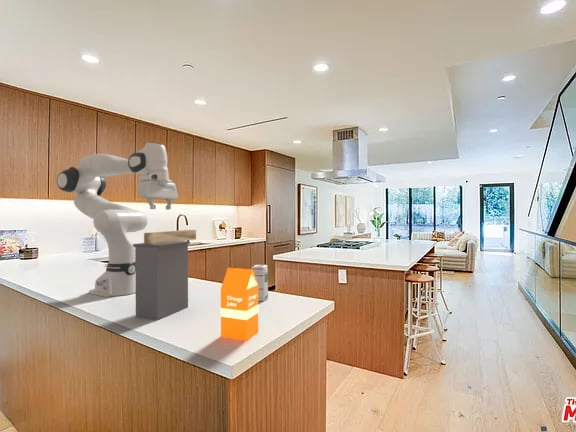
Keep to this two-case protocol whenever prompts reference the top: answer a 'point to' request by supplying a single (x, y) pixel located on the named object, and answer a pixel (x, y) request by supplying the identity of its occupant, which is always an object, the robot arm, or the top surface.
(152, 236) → the maple bar
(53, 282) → the top surface
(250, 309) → the orange juice
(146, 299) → the pedestal
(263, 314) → the top surface
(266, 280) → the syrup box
